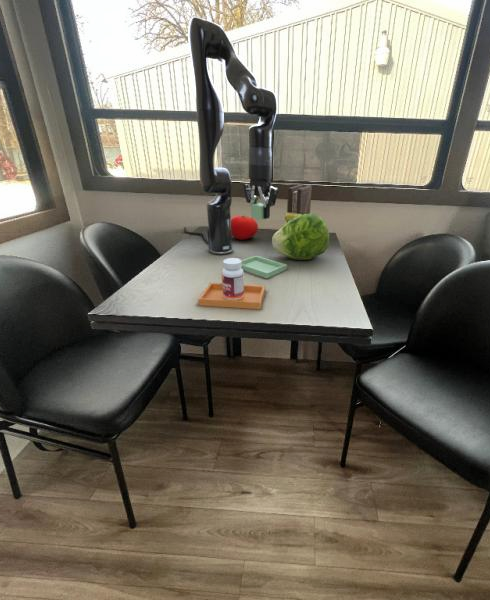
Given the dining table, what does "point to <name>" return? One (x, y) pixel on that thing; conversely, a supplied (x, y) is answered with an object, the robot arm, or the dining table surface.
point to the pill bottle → (233, 279)
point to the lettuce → (302, 237)
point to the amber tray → (216, 298)
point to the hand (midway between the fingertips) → (260, 217)
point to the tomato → (243, 227)
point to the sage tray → (262, 266)
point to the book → (298, 201)
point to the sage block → (257, 211)
